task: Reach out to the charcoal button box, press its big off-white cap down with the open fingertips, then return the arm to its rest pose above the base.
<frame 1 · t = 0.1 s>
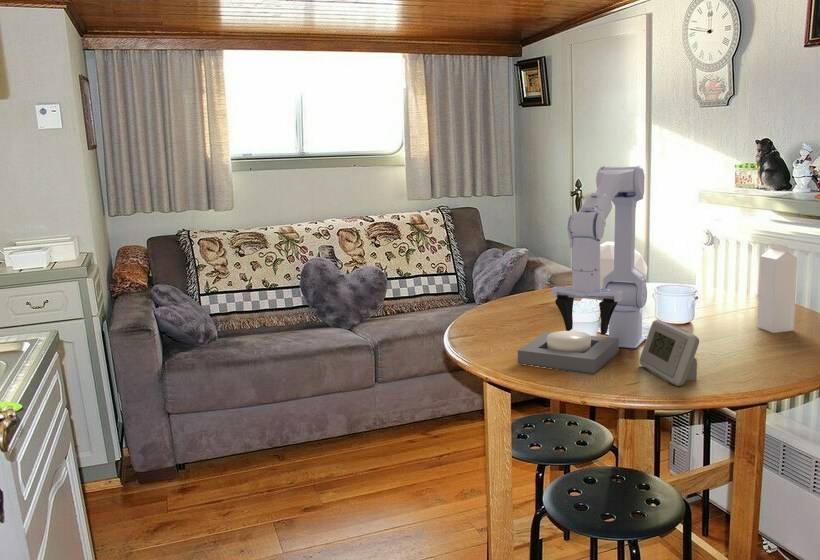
hand: (586, 331, 154), 10 cm above the table, tool pointing down, fingers open, 7 cm apart
button cap: (568, 343, 169), point 4 cm above the table, slide at 0.0 cm
milk: (775, 329, 185), on the table
digital clock: (667, 376, 155), on the table
button housing: (569, 358, 169), on the table
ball: (613, 303, 222), on the table
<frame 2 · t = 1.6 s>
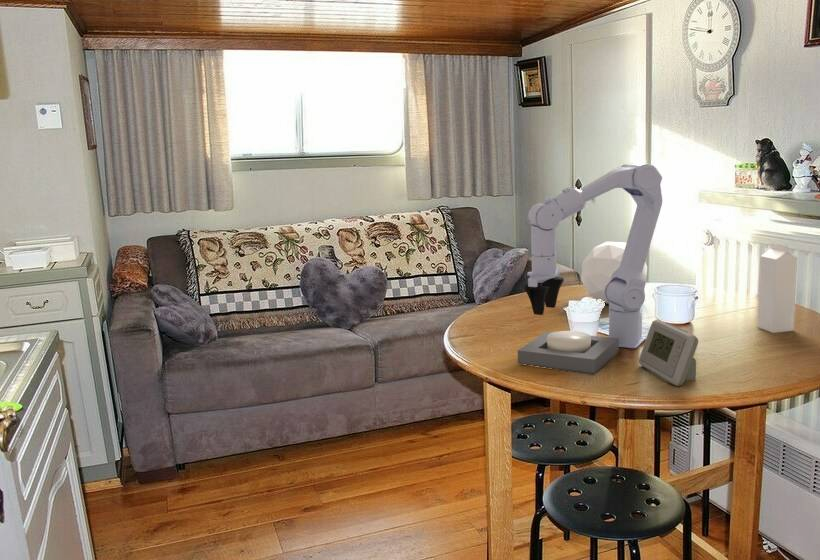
hand: (544, 310, 173), 10 cm above the table, tool pointing down, fingers open, 7 cm apart
nothing on the table moved.
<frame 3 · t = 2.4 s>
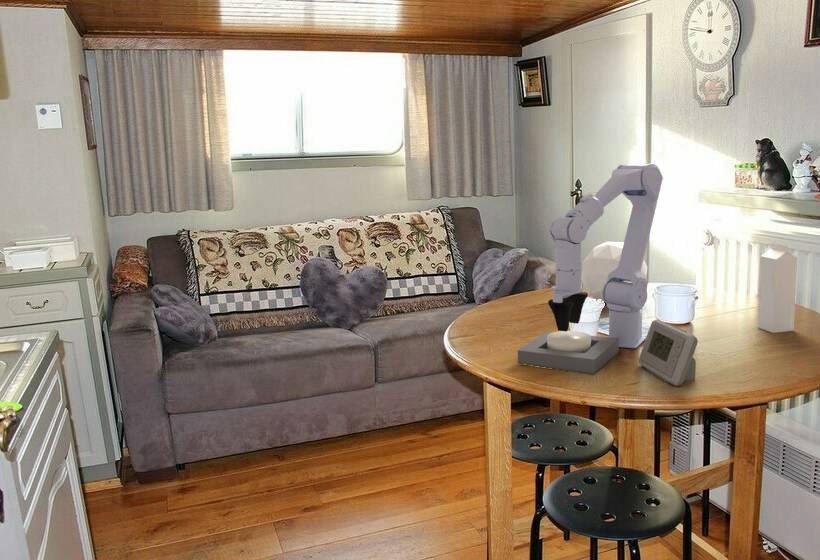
hand: (568, 326, 168), 8 cm above the table, tool pointing down, fingers open, 7 cm apart
nothing on the table moved.
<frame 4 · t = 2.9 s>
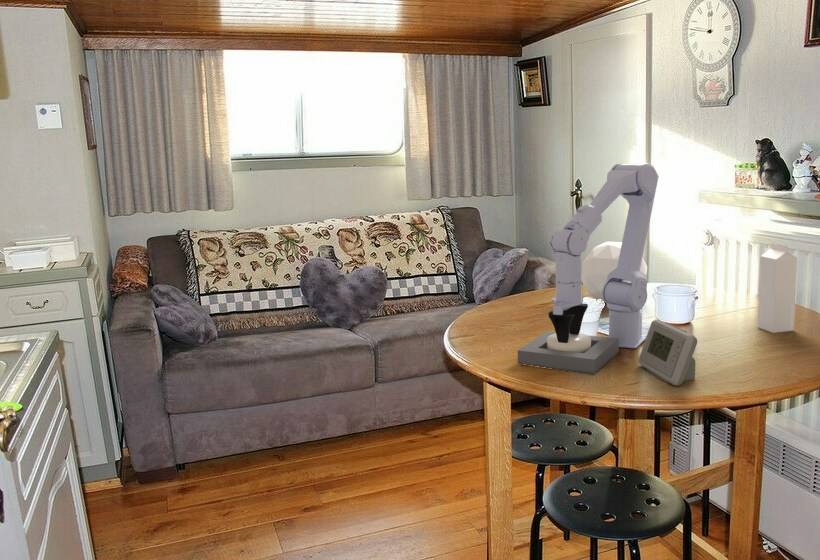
hand: (568, 338, 169), 5 cm above the table, tool pointing down
button cap: (568, 344, 169), point 3 cm above the table, slide at 0.4 cm, touching gripper
everything else where it was.
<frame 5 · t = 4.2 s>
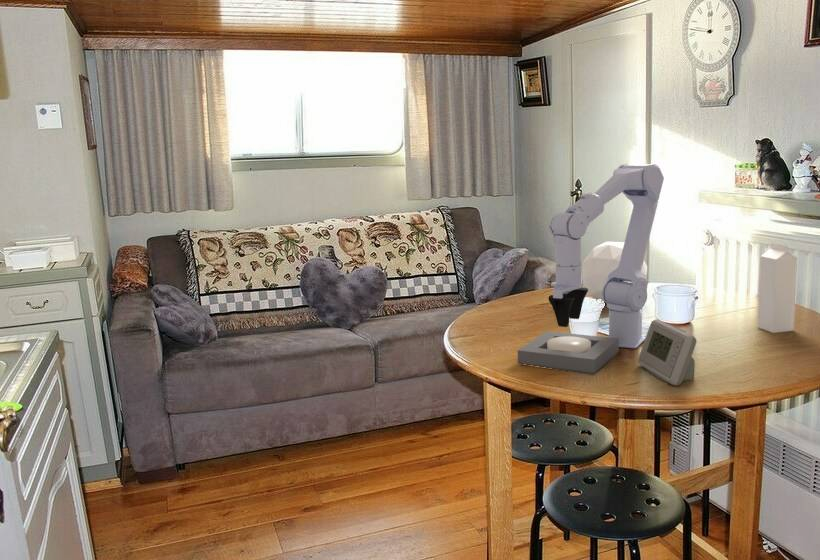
hand: (568, 322, 168), 9 cm above the table, tool pointing down, fingers open, 7 cm apart
button cap: (568, 348, 169), point 2 cm above the table, slide at 1.4 cm
everything else where it was.
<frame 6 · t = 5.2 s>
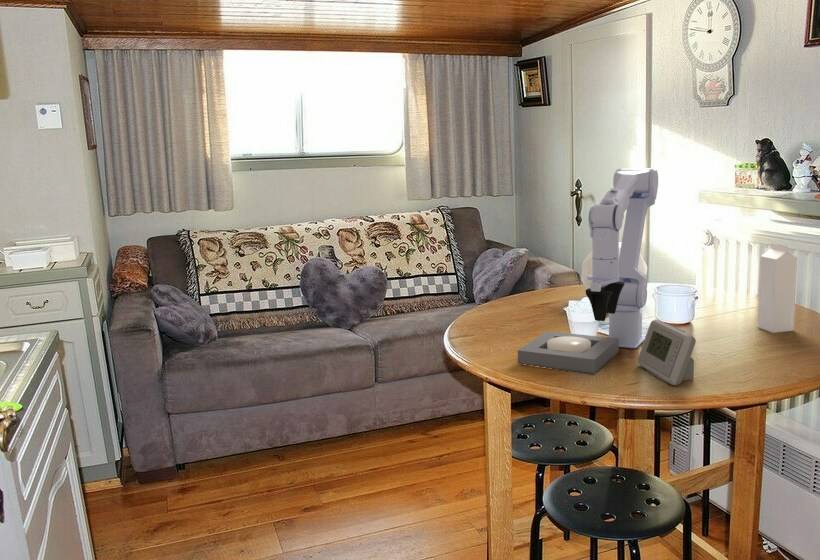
hand: (605, 316, 165), 10 cm above the table, tool pointing down, fingers open, 7 cm apart
nothing on the table moved.
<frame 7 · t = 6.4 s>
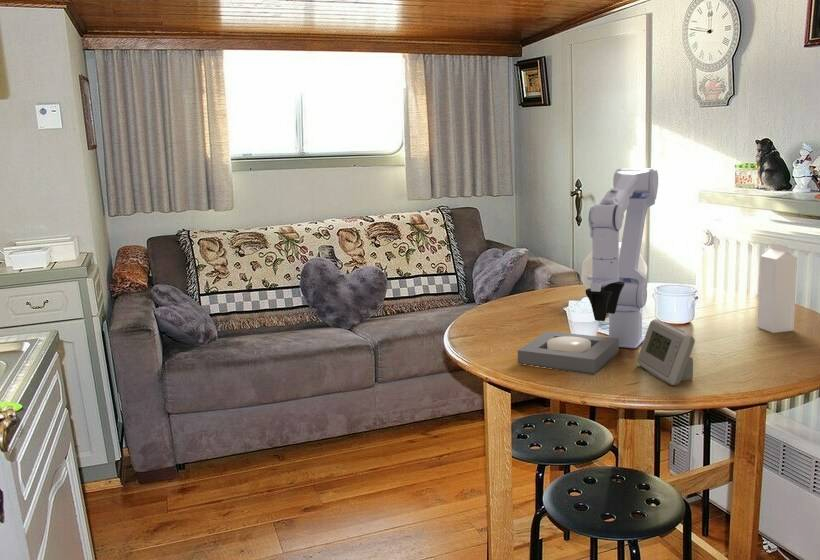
hand: (605, 316, 165), 10 cm above the table, tool pointing down, fingers open, 7 cm apart
nothing on the table moved.
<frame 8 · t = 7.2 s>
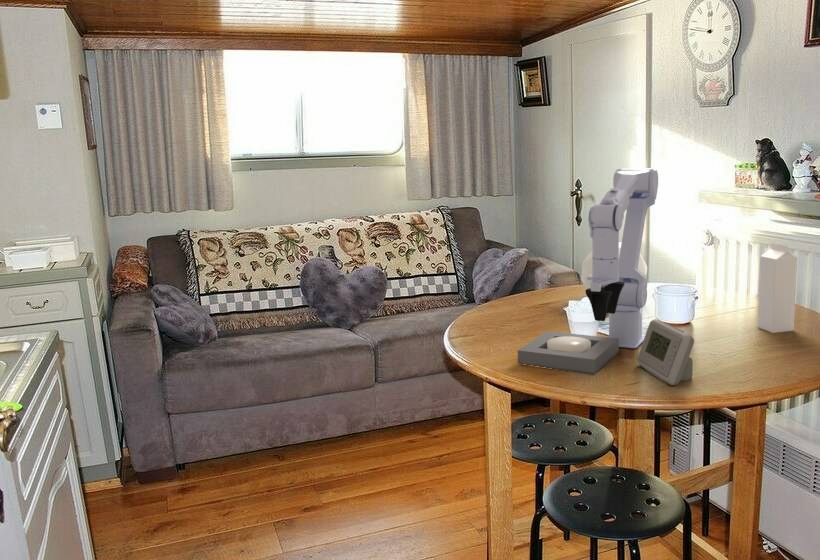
hand: (605, 316, 165), 10 cm above the table, tool pointing down, fingers open, 7 cm apart
nothing on the table moved.
at the end: button cap slide at 1.4 cm; digital clock moved 0.9 cm from its start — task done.
